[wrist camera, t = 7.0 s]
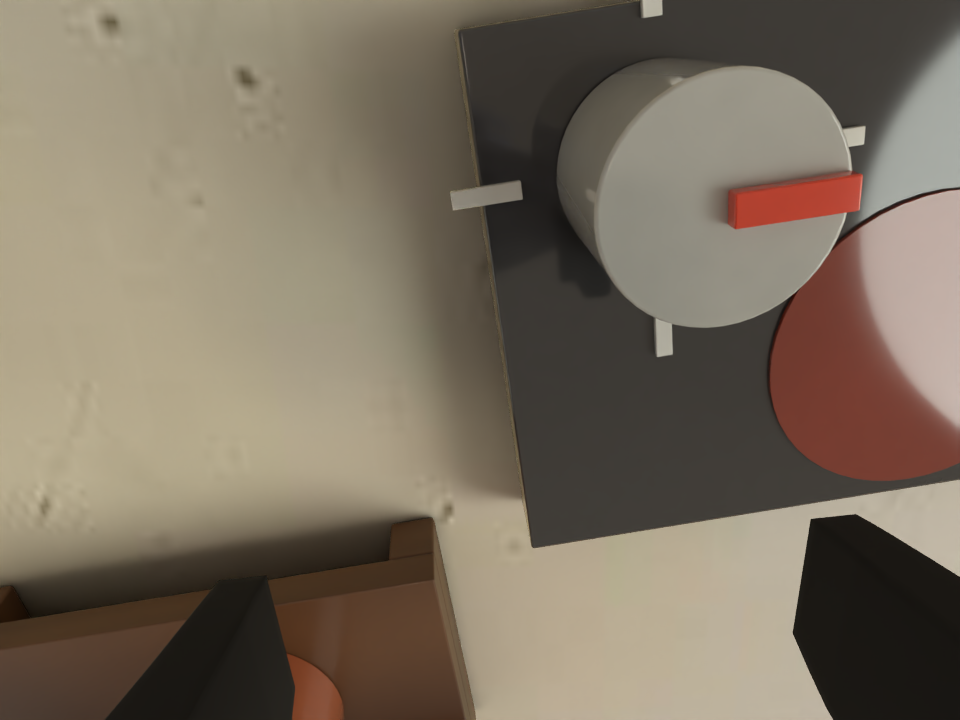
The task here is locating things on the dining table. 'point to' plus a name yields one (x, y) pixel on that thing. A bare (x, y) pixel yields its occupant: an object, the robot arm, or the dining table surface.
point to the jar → (314, 693)
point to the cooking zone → (877, 347)
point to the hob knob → (706, 186)
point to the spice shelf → (305, 631)
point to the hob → (625, 328)
